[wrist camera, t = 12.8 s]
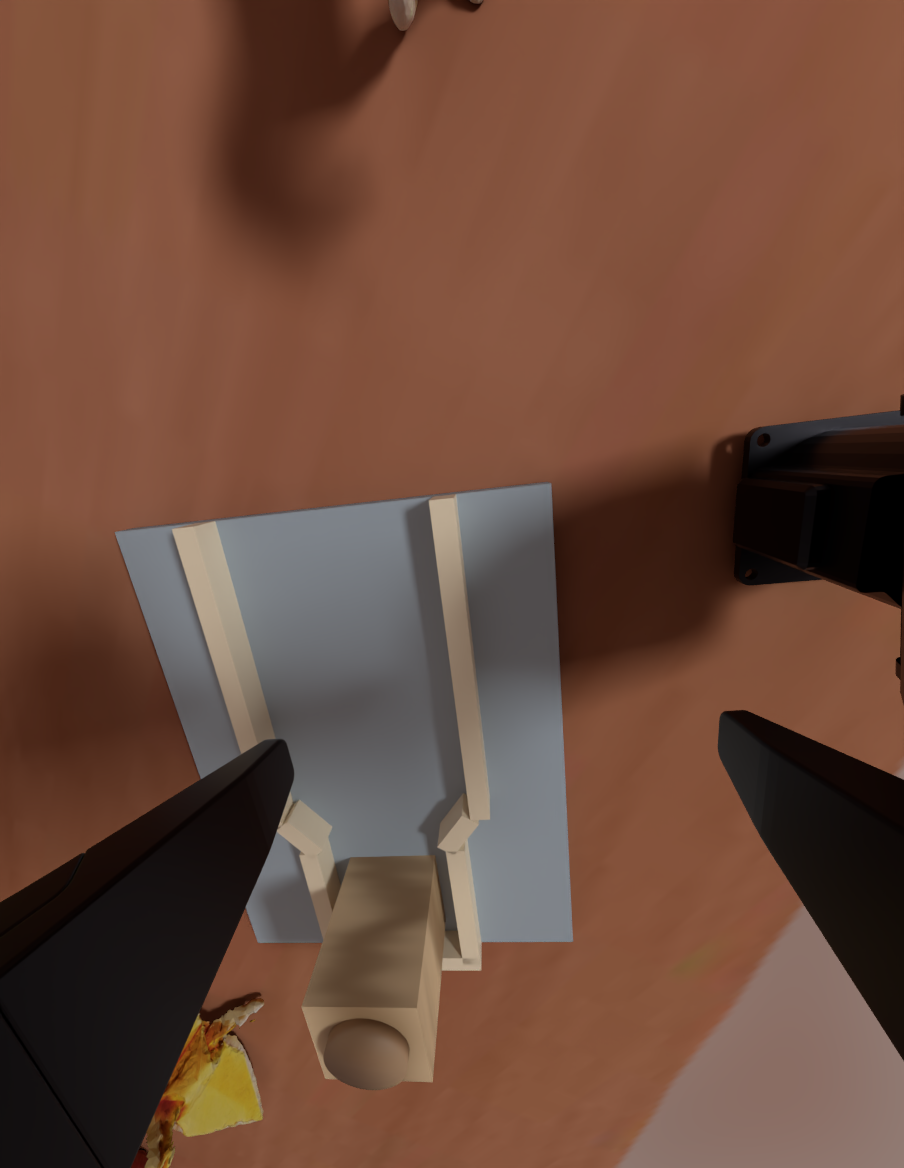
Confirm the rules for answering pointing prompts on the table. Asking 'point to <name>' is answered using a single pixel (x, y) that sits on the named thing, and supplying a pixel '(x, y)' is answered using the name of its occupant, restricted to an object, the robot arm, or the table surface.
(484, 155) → the table surface
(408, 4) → the unicorn figurine
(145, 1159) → the onion
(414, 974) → the stud block
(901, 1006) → the robot arm
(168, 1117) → the origami crane
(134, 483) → the table surface
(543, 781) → the keyhole board
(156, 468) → the table surface
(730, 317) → the table surface
